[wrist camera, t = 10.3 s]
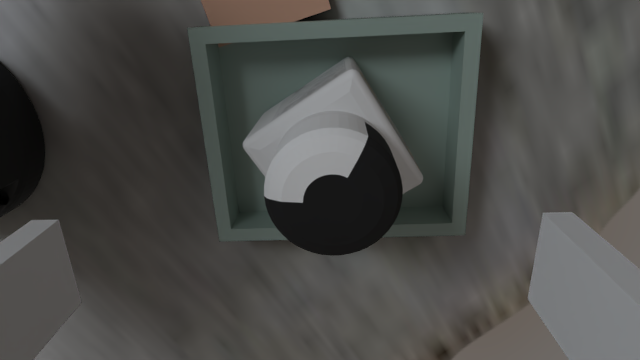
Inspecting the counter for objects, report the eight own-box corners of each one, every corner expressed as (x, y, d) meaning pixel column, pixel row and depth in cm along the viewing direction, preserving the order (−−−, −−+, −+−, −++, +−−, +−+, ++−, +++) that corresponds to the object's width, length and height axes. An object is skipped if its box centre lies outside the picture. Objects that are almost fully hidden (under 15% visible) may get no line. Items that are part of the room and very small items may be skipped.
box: (230, 220, 35) (219, 241, 32) (203, 26, 30) (186, 28, 27) (453, 214, 34) (465, 235, 31) (466, 12, 29) (483, 12, 26)
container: (406, 143, 32) (449, 225, 20) (319, 196, 34) (310, 300, 22) (350, 53, 30) (360, 82, 18) (260, 114, 31) (213, 178, 19)
